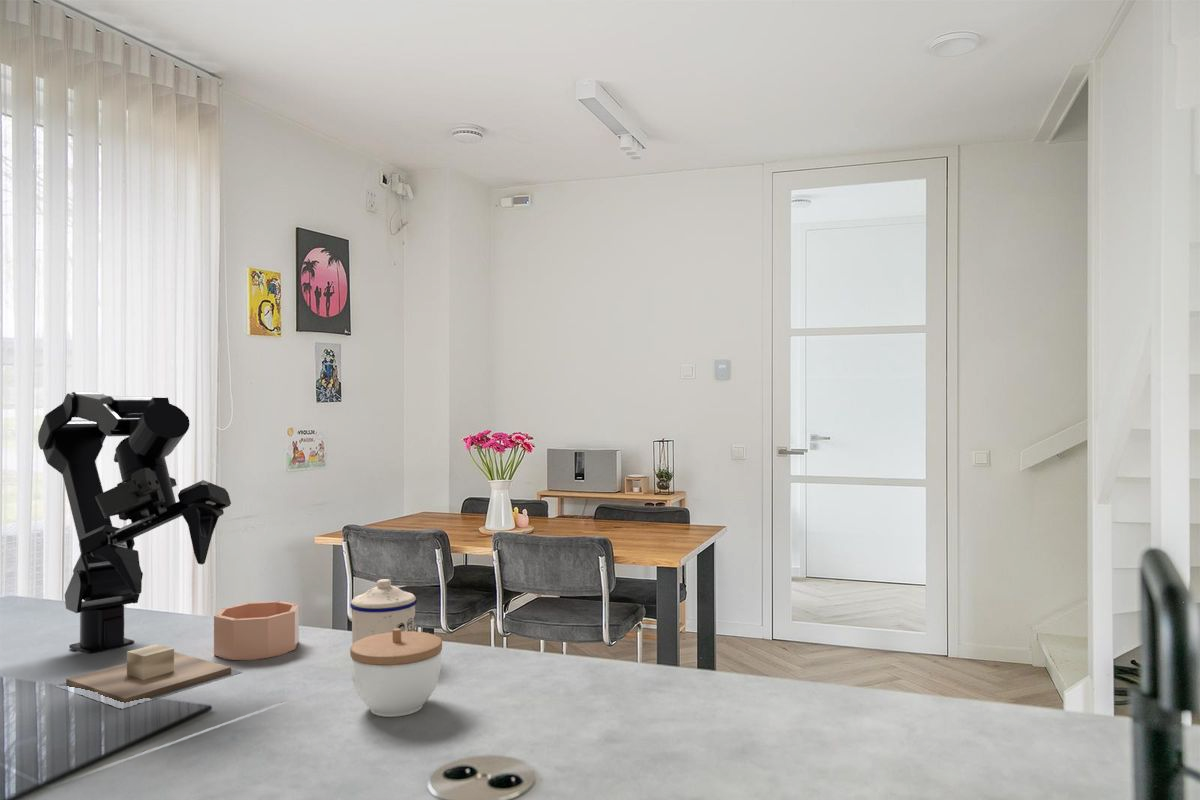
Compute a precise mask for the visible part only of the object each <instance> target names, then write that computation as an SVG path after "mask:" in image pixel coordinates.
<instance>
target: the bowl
mask: <svg viewBox="0 0 1200 800" xmlns="http://www.w3.org/2000/svg"><path fill="white" fill-rule="evenodd" d="M299 606H300V605H299V604H298V603H292V602H288V601H287V602H286V601H281V600H276V601H275V600H273V601H254V602H246V603H240V604H238V605H232V606H228V607H223V608H220V609H219V611H218V612H217V613H215V615H214V616H213V655H214V656H217V657H219V658H221V659H224V660H229V661H253V660H255V661H256V660H260V659H262V660H263V659H269V658H274V657H277V656H282V655H284V654H287V653H289V652H291V651H295V649H296V648H297V646H298V643H299V641H300V640H299V639H300V637H299V636H300V632H299V631H300V628H299V627H300V623H299V622H300V620H299V619H300V618H299V617H300V613H299V612H300V611H299V610H300V607H299Z"/></svg>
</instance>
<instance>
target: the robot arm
mask: <svg viewBox="0 0 1200 800" xmlns="http://www.w3.org/2000/svg"><path fill="white" fill-rule="evenodd" d="M63 399H64V400H63V402H62V403H61V404H59V405H58V406H57V407H55V408H53V409H52V410H50V411H48V413H46V414H45V416H44V418H43V420H42V423H41V425H40V428H39V430H38V435H37V436H38V437H37V442H38V447H39V449H40V450H42V452H43V455H44V457H45V460H46V463H47V465H49V466H51V467H52V468H53V469H54V470H56V472H57V471H58V473H60V474H61V475H62V477H63V482H64V486H65V491H66V494H67V498H68V502H69V507H70V511H71V513H72V518H73V519H72V520H73V522H74V527H75V531H76V536H77V538H78V546H79V547H78V548H79V551H80V555H79V556H78V559H77V561H76V563H75V566H74V568H73V569H72V572H73V573H72V576H71V578H70V581H69V583H68V585H67V588H66V591H65V593H64V602H65V609H66V610H68V611H71V612H72V613H75V614H78V613H79V642H75V643H71V644H69V646H68V647H69V649H71V650H75V651H78V652H82V653H86V654H91V655H93V654H97V653H101V652H105V651H109V650H113V649H118V648H122V647H126V646H130V645H133V644H135V639H134V640H133V639H129V638H125V605H131V604H138V602H139V598H140V596H141V595H140V594H142V588H143V587H142V586H143V585H142V584H143V583H142V582H143V581H142V580H143V575H144V574H143V573H144V572H143V571H142V569H141V566H140V565H141V564H140V556H139V555H140V554H139V550H138V549H137V550H136V549H134V546H135V540H134V539H135V538H137V537H139V536H141V535H143V534H145V533H148V532H150V531H152V530H154V529H156V528H159V527H160V526H163V525H165V524H167V523H169V522H172V521H173V520H176V519H179V518H180V517H183V519H184V520H185V522H186V524H187V526H188V529H189V531H188V532H189V535H190V540H191V543H192V549H193V554H194V556H195V560H196V562H197V564H198V565H201V566H202V565H204V564H205V563H206V561H207V556H208V552H209V549H210V545H211V540H212V537H213V534H214V531H215V528H216V525H217V523H218V519H219V518H220V517H221V516H223V515H224V514H225V513H224V509H226V508H228V507H230V506H231V505H232V502H231V498H230V495H229V492H228V491H227V490H226V488H225V487H222V486H219V485H217V484H214V483H212V482H209V481H207V480H204V479H202V480H200V481H198V482H196V483H194V484H191V485H189V486H187V487H184V488H183V489H181V490H180V491H179V493H178V494H177V497H178V501H176V497H175V493H174V490H173V488H174V487H177V486H178V485H177V481H176V478H174V477H171V476H170V473H169V470H168V465H167V462H166V458H165V457H168V456H169V455H170V454H172V452H173V451H174V450H175V448H176V447H177V446H178V444H179V443H180V442H181V441H182V440H183V437H184V436H185V434H186V433H187V432H188V430H189V428H190V425H191V424H190V418H189V416H188V415H187V414H186V412H184V411H183V410H182V409H181V408H180V407H178V406H176V405H174V404H171V403H170V399H169V397H167V396H136V395H135V396H130V395H129V396H128V395H127V396H120V395H119V396H118V395H106V394H104V393H100V392H95V391H93V392H91V391H73V392H70V393H66V395H65V397H64V398H63ZM73 418H80V419H81V420H79V419H78V420H77V419H76V420H75V419H74V420H73ZM82 419H83V420H82ZM107 437H125V438H123V439H122V440H121V441H119V443H118V444H117V446H116V447H115V453H114V457H113V461H114V463H118V468H119V473H120V476H121V477H120V478H121V482H119V483H117V484H116V486H115V487H113V488H111V489H108V490H105V491H104V489H103V485H102V482H101V479H100V475H99V474H100V473H99V471H98V467H97V459H98V457H99V454H100V452H101V451H102V448H104V446H103V443H104V442H105V440H106V439H107ZM114 516H118V519H119V520H122V521H128V520H130V524H127V525H125V526H122V527H121V528H120V527H116V526H113V523H112V520H111V519H112V518H111V517H114Z"/></svg>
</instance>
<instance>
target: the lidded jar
mask: <svg viewBox="0 0 1200 800" xmlns="http://www.w3.org/2000/svg"><path fill="white" fill-rule="evenodd" d="M442 650H443V640H442V638H441V637H439V636H438V635H437V634H436V635H435V634H434V633H429V632H422V631H416V630H415V631H401V629H400V628H396V629H393V630H392V632H388V633H382V634H376V635H372V636H368V637H365V638H362V639H360V640H358V641H356V642H355V643H353V644H352V643H351V646H350V648H349V653H350V655H349V656H350V663H351V664H350V665H351V666H350V667H351V677H352V683H353V687H354V689H355V693H356V695H357V696H358V698H359V700H360V701H361V702H362V703H363V705H365V706H366V707H367V708H369V709H370V713H371V714H372V715H375V716H378V717H383V718H397V717H405V716H410V715H412V714H416V713H418V712H419V711H421V709H422V708H423V706H424V704H425V703H426V702H427V701H428V700H429V698H431V696H432V695H433V693H434V691H435V690H436V688H437V685H438V682H439V678H440V674H441V667H442Z"/></svg>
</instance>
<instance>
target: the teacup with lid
mask: <svg viewBox="0 0 1200 800" xmlns="http://www.w3.org/2000/svg"><path fill="white" fill-rule="evenodd" d="M417 602H418V600H417V598H416V596H415V595H414V593H411V592H409V591H405V590H402V589H401V588H399V587H397V586H394V585H392V581H391V579H388V578H383V579H381V578H380V579H378V580H377V581H376V586H374V587H372V588H369V589H368V590H366V592H364V593H362V594H359V595H356V596H354V597H353V598H352V600H351V603H350V605H349V606H350V608H351V615H352V616H351V638H352V639H351V645H352V644H353V643H355V642H356V641H358V640H360V639H362V638H365V637H368V636H372V635H376V634H382V633H388V632H392V630H393V629H396V628H400V629H401V631H415V632H416V604H417Z"/></svg>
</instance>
